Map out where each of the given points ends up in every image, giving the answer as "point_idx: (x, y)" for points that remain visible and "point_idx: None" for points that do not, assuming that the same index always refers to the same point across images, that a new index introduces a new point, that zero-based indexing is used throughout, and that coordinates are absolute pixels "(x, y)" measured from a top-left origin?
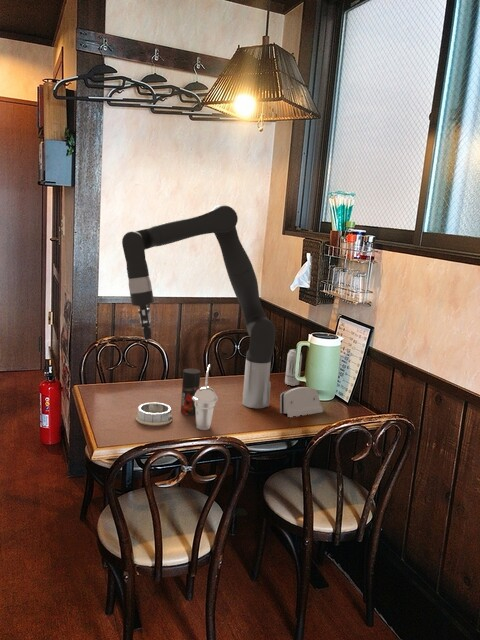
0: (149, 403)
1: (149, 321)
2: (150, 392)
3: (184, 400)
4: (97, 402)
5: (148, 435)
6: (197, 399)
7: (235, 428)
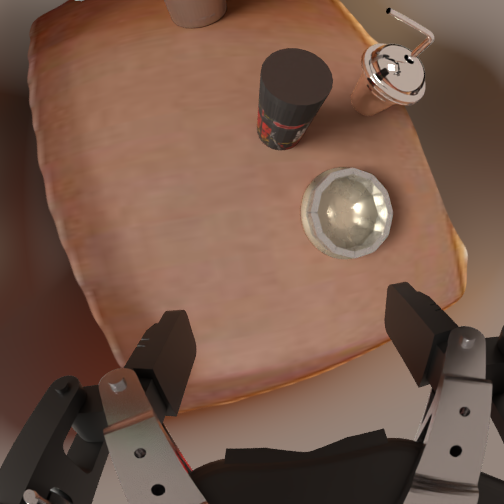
0: (322, 231)
1: (466, 379)
2: (148, 251)
3: (305, 130)
4: (256, 366)
5: (424, 216)
6: (421, 93)
7: (350, 46)
